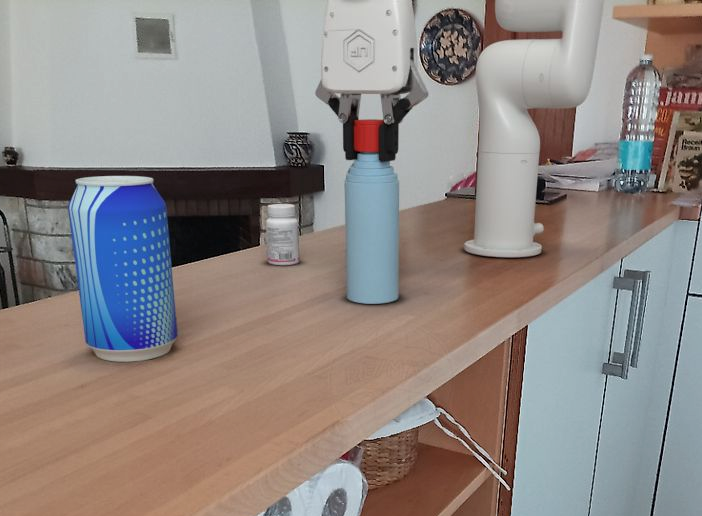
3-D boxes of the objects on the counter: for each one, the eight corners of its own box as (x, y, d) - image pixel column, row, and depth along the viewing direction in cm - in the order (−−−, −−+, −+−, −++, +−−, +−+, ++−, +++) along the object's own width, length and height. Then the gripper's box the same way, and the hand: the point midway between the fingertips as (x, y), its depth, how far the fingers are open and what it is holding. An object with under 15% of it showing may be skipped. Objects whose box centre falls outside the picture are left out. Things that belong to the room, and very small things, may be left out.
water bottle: (370, 288, 101) (368, 123, 93) (409, 296, 97) (410, 125, 89) (336, 298, 96) (331, 126, 88) (375, 306, 92) (374, 128, 85)
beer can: (128, 370, 70) (107, 185, 64) (68, 354, 74) (43, 179, 68) (197, 347, 76) (183, 178, 71) (138, 334, 80) (120, 173, 75)
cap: (348, 151, 89) (347, 120, 88) (363, 148, 92) (363, 119, 91) (379, 152, 87) (379, 121, 86) (394, 149, 91) (394, 119, 89)
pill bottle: (278, 258, 120) (276, 202, 117) (305, 261, 118) (304, 204, 115) (261, 263, 116) (258, 206, 113) (288, 267, 114) (286, 208, 111)
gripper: (285, -20, 83) (291, 159, 90) (429, -28, 77) (424, 165, 84) (320, -12, 90) (323, 155, 96) (455, -19, 83) (449, 161, 90)
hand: (370, 158), depth 90 cm, fingers closed on cap, 3 cm apart
